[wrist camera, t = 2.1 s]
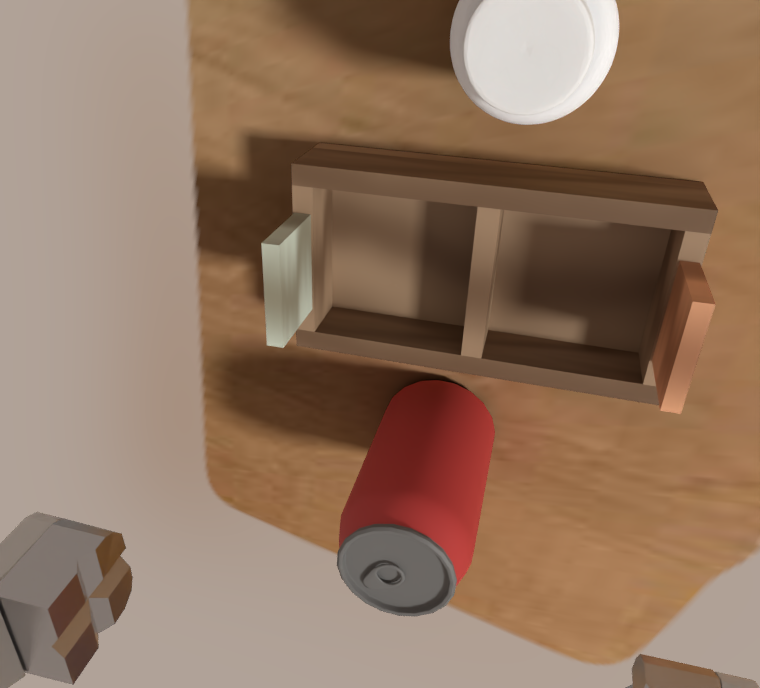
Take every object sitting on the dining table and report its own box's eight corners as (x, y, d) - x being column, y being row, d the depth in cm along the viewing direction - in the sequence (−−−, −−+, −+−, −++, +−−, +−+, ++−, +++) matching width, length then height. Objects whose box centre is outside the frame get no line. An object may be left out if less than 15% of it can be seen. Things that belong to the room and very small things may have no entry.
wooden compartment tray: (319, 142, 34) (256, 189, 28) (703, 182, 31) (737, 246, 24) (320, 311, 39) (267, 386, 33) (652, 362, 36) (669, 458, 29)
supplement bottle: (457, -15, 30) (406, 0, 21) (585, -84, 27) (587, -99, 19) (505, 108, 32) (476, 168, 23) (628, 53, 29) (648, 97, 21)
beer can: (365, 405, 42) (297, 550, 32) (450, 355, 39) (404, 498, 29) (431, 479, 43) (386, 640, 33) (518, 438, 40) (497, 601, 30)
